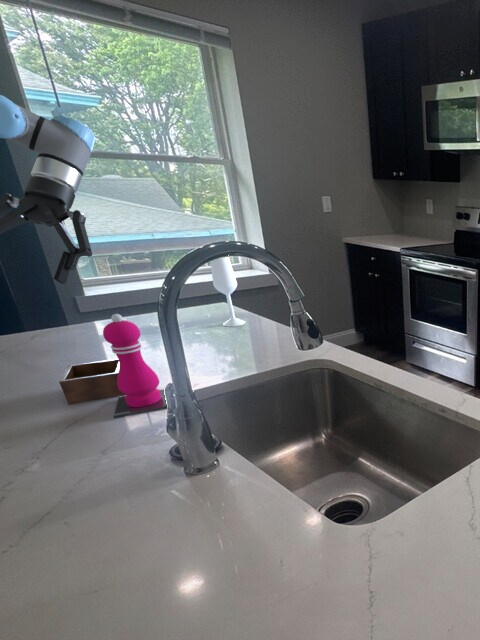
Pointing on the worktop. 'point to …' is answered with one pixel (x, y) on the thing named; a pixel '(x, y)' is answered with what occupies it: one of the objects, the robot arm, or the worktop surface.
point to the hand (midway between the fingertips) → (20, 273)
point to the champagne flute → (225, 285)
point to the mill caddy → (91, 381)
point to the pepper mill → (131, 363)
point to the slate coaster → (126, 410)
